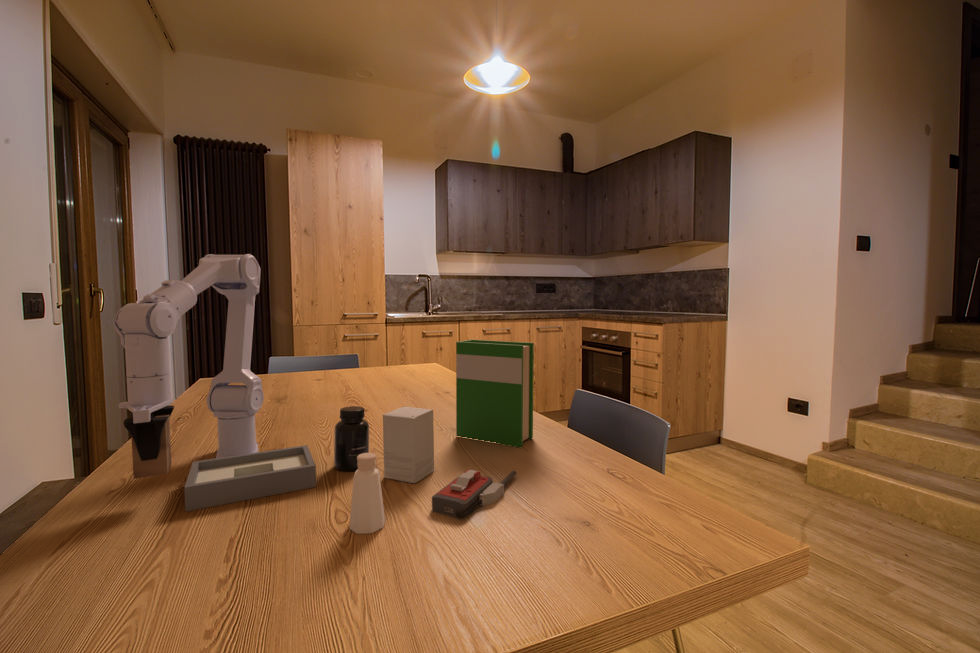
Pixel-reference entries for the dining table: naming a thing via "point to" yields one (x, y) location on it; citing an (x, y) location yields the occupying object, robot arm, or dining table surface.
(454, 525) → the dining table surface
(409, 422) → the supplement box
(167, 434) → the wooden peg
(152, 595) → the dining table surface
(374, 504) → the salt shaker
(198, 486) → the open box
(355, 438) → the supplement bottle
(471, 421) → the hardback book
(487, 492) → the walkie-talkie
